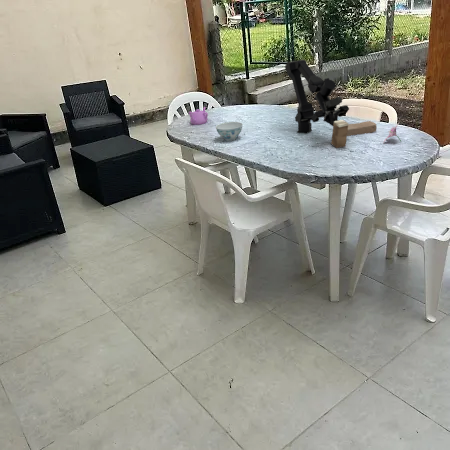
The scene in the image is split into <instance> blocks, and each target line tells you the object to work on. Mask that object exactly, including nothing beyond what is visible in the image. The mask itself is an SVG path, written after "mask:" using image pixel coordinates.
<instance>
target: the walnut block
mask: <svg viewBox="0 0 450 450" xmlns="http://www.w3.org/2000/svg"><path fill="white" fill-rule="evenodd" d="M348 124H350V123H349V122H347V121H345V120H344V119H339V120H338V121H334V124H333V126H332V135H331V141H330V143H331V145H332V146H333V147H334V148H336V149H339V148H343V147H346V144H347V139H348V136H347V131H348Z"/></svg>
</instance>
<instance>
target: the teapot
mask: <svg viewBox="0 0 450 450" xmlns="http://www.w3.org/2000/svg"><path fill="white" fill-rule="evenodd" d="M188 116H189V117H190V120H189V121H190V124H191V125H193V126H195V125H196V126H201V125H204V124H207V122H208V121H209V120H208V116H209V113H208V112H206V106H204V107H203V109H202V110H200V109H199V108H198V109H195V110H194V111H188Z"/></svg>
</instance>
